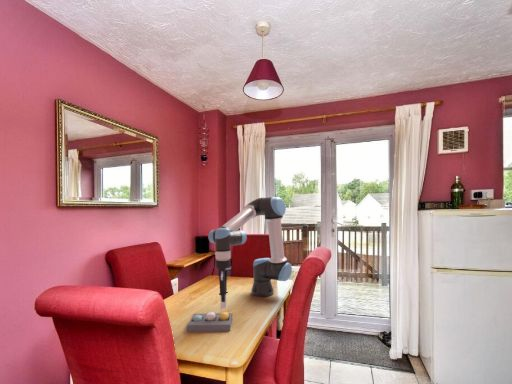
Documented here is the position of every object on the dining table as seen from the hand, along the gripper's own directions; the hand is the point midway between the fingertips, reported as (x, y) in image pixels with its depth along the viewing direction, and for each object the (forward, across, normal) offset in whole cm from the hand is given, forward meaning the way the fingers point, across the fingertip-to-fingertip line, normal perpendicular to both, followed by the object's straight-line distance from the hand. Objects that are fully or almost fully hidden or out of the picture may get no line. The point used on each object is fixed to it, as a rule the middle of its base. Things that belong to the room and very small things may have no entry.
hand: (223, 307), depth 132 cm
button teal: (+7, 0, -13) cm, 14 cm away
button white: (+6, 0, -6) cm, 8 cm away
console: (+8, 0, -6) cm, 10 cm away
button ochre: (+6, 0, 0) cm, 6 cm away
